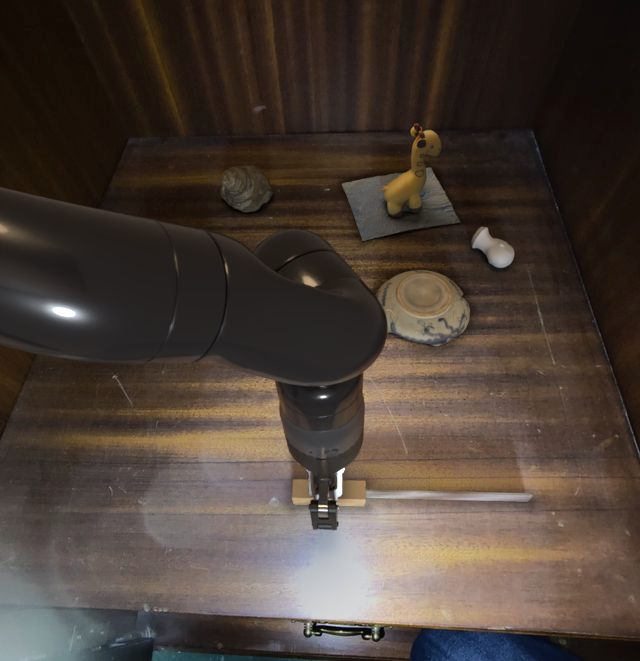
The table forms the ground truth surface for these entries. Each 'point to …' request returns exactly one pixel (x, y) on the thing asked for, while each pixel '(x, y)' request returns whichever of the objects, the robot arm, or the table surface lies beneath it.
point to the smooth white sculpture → (493, 248)
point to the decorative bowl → (424, 307)
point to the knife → (396, 494)
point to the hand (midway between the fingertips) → (328, 477)
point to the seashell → (245, 188)
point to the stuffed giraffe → (402, 195)
